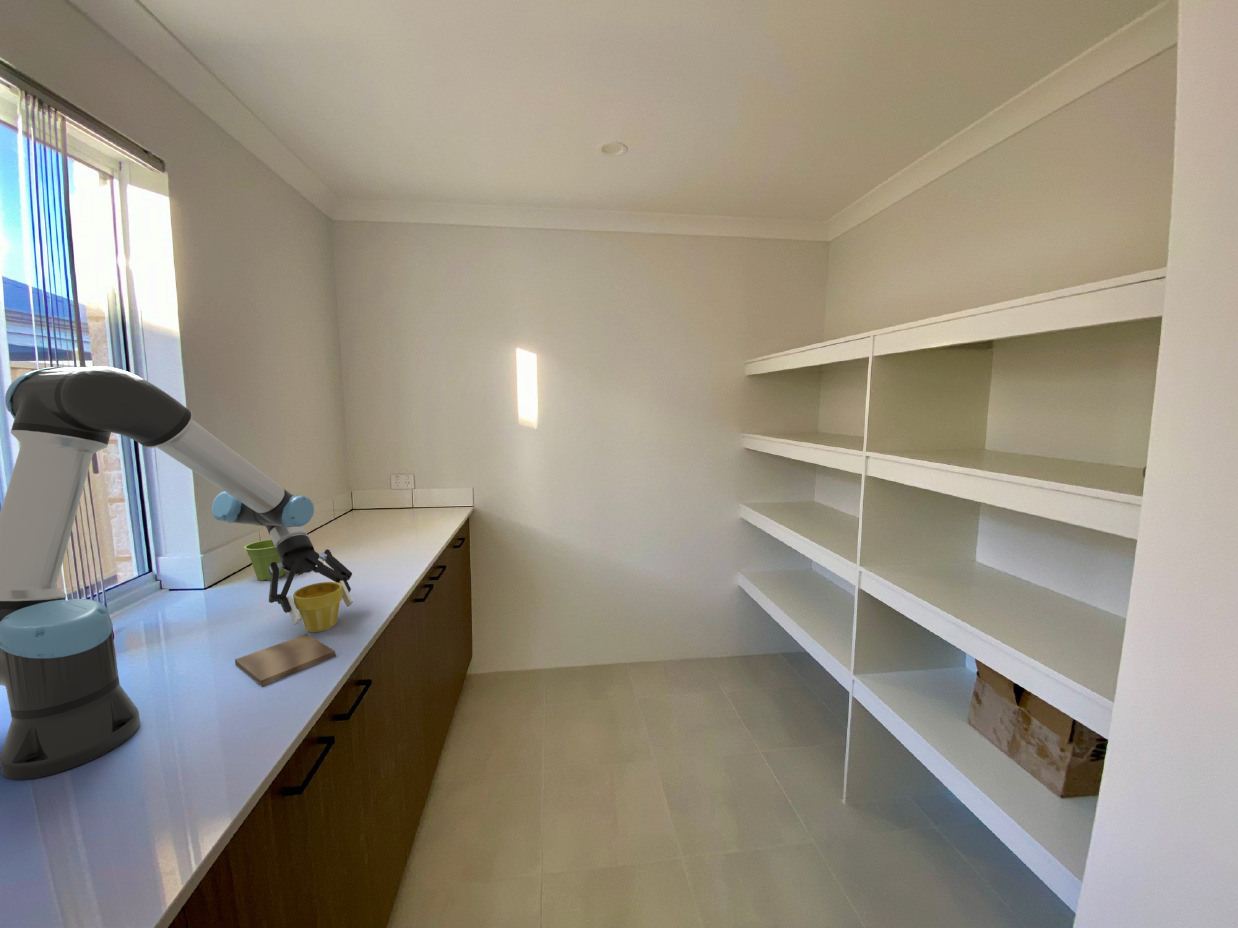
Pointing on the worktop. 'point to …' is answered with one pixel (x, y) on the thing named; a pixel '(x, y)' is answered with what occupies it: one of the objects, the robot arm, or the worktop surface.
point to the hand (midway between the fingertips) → (325, 612)
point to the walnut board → (284, 659)
